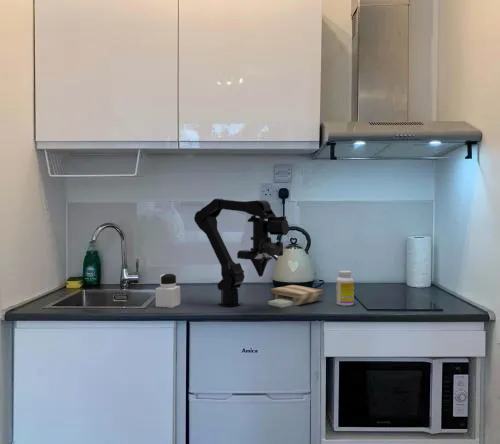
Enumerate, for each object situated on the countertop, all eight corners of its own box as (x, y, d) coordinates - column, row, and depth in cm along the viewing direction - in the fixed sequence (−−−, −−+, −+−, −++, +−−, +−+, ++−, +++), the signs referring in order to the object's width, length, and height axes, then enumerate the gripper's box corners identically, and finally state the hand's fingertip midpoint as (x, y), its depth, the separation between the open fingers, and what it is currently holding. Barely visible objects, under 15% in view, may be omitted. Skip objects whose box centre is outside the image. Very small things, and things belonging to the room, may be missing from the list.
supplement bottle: (357, 305, 186) (357, 271, 185) (344, 306, 182) (344, 273, 182) (345, 301, 192) (346, 269, 191) (332, 303, 188) (332, 270, 188)
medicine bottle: (180, 304, 187) (180, 273, 187) (172, 308, 180) (172, 276, 180) (163, 303, 189) (163, 272, 189) (155, 306, 182) (155, 275, 182)
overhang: (300, 306, 183) (300, 294, 183) (270, 300, 195) (270, 288, 194) (323, 301, 192) (323, 289, 192) (292, 295, 204) (293, 284, 204)
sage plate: (281, 308, 182) (281, 303, 181) (268, 305, 187) (268, 300, 187) (305, 302, 191) (305, 298, 191) (292, 300, 196) (292, 295, 196)
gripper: (257, 236, 166) (257, 282, 167) (293, 234, 179) (293, 276, 180) (236, 235, 174) (236, 278, 175) (272, 232, 187) (272, 273, 188)
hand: (260, 276), depth 179 cm, fingers closed
